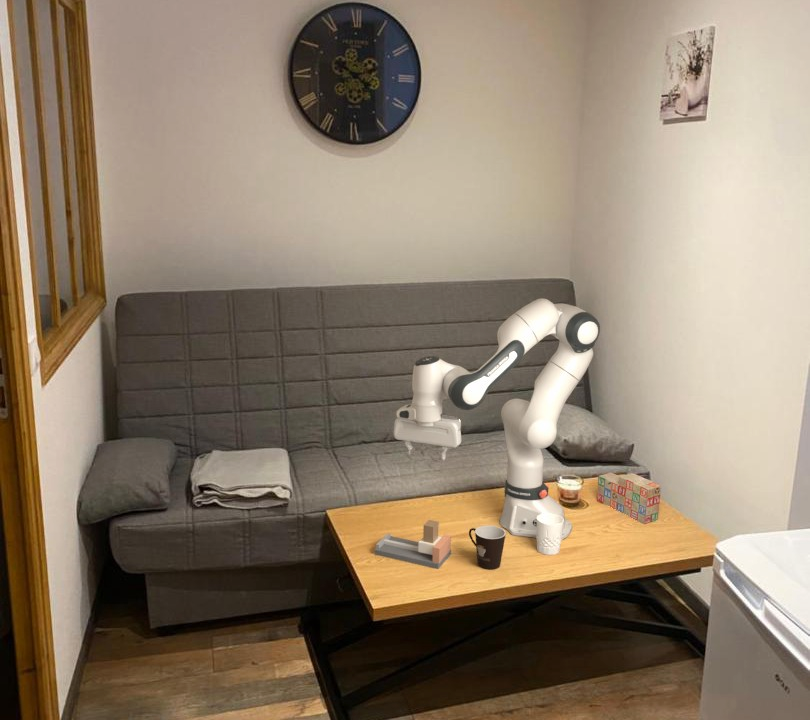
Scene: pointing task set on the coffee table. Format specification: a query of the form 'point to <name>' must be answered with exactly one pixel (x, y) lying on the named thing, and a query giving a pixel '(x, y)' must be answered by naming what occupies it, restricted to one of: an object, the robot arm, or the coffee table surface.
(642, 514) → the stack of blocks
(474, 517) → the coffee table surface
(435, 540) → the shuttle
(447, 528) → the coffee table surface
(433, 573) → the coffee table surface
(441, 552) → the track
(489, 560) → the coffee mug
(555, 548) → the white cup
